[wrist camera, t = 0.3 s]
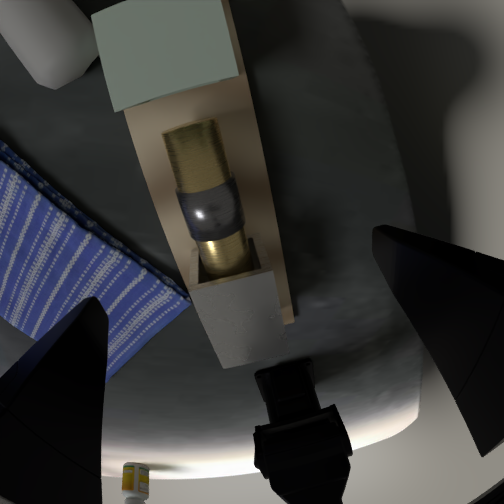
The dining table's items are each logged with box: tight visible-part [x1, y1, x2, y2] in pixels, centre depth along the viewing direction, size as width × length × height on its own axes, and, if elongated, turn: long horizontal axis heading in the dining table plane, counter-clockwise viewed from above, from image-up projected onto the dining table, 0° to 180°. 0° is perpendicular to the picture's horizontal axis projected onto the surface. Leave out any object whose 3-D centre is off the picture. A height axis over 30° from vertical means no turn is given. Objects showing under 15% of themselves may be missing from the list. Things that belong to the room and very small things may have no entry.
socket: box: [91, 0, 239, 112], centre depth 13 cm, size 6×6×5 cm
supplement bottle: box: [122, 463, 149, 504], centre depth 41 cm, size 5×5×10 cm
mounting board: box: [124, 0, 294, 333], centre depth 20 cm, size 28×8×1 cm, turn 12°
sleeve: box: [189, 232, 289, 369], centre depth 22 cm, size 8×5×5 cm, turn 12°
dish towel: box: [0, 140, 191, 383], centre depth 21 cm, size 17×24×3 cm
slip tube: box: [161, 117, 255, 281], centre depth 20 cm, size 16×4×4 cm, turn 12°
